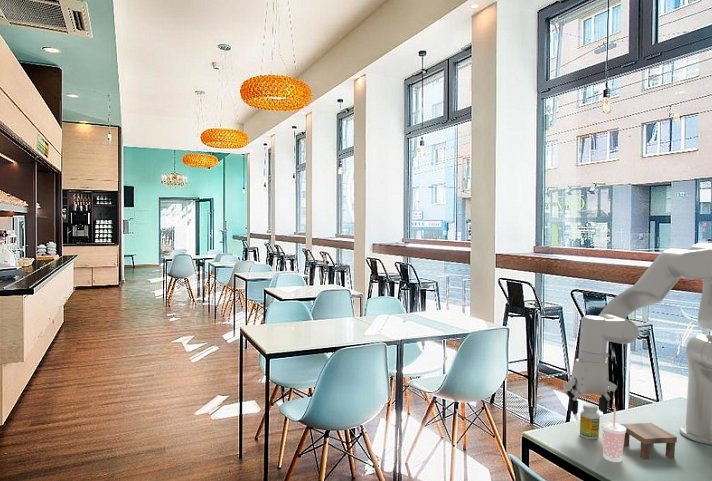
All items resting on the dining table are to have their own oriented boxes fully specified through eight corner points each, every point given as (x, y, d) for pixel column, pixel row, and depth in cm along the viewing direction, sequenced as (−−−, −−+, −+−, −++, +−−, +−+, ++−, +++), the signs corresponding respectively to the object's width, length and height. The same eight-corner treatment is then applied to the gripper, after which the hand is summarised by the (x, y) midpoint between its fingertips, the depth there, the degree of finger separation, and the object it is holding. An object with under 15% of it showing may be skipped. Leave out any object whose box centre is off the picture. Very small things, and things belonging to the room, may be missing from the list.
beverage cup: (605, 451, 146) (608, 403, 145) (628, 459, 141) (630, 409, 141) (596, 457, 142) (598, 408, 141) (619, 465, 137) (622, 414, 137)
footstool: (650, 442, 152) (651, 422, 152) (675, 458, 143) (676, 437, 142) (619, 443, 151) (620, 424, 151) (643, 459, 141) (644, 438, 141)
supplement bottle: (586, 431, 160) (587, 401, 159) (602, 437, 155) (603, 406, 155) (575, 434, 157) (577, 404, 156) (592, 441, 152) (593, 410, 152)
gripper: (610, 353, 160) (606, 407, 161) (559, 353, 157) (555, 407, 158) (626, 360, 152) (621, 416, 153) (573, 360, 150) (568, 417, 150)
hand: (588, 411), depth 156 cm, fingers open, 9 cm apart
